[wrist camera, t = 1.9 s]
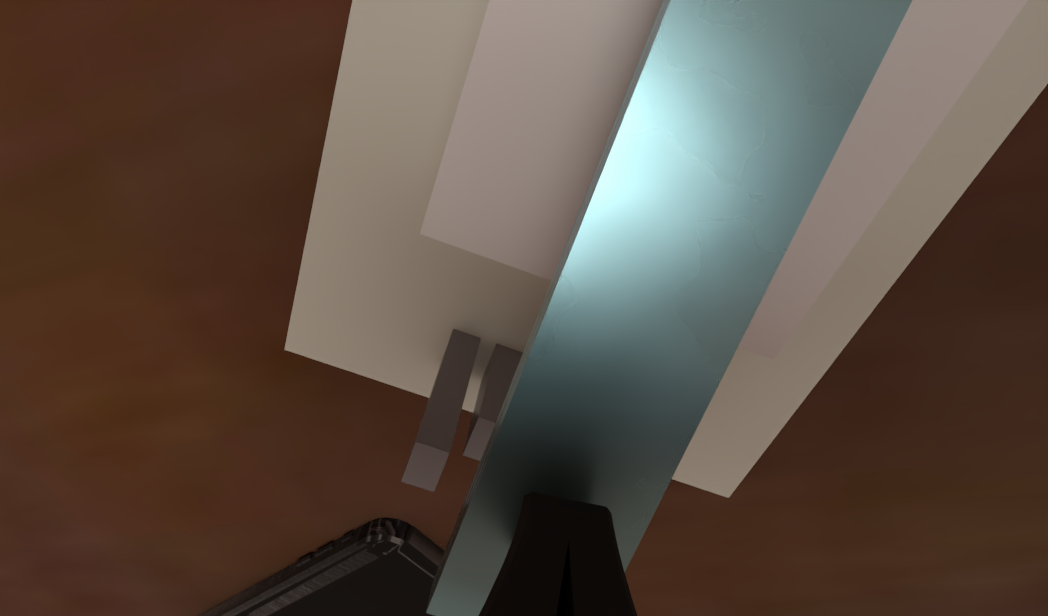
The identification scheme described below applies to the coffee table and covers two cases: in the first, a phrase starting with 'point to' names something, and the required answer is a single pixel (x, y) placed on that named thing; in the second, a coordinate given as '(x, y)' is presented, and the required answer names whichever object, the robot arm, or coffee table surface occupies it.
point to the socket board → (445, 284)
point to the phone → (349, 577)
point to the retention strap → (667, 262)
